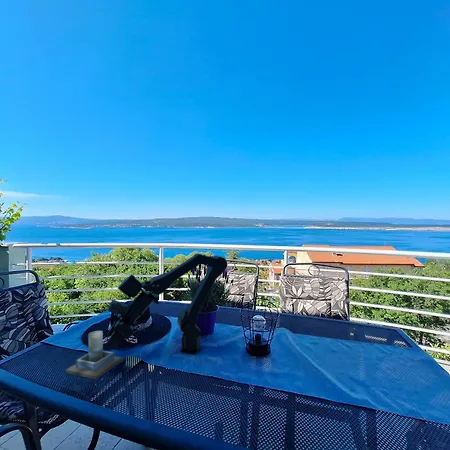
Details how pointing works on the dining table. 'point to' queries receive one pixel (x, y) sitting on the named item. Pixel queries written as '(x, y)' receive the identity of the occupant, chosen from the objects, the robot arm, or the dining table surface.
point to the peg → (95, 346)
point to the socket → (94, 365)
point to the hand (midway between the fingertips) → (107, 340)
